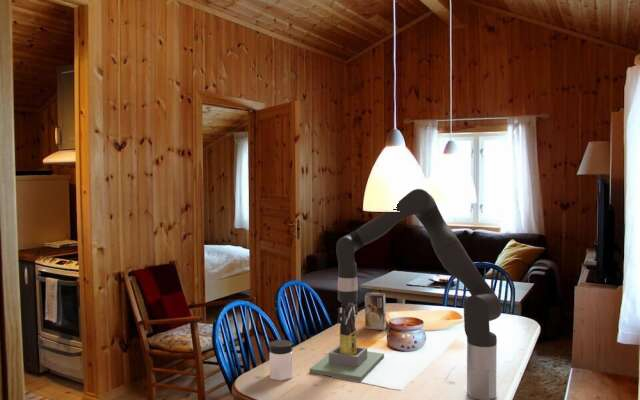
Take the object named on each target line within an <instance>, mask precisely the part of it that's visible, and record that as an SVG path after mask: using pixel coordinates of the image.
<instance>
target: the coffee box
mask: <svg viewBox="0 0 640 400" xmlns="http://www.w3.org/2000/svg"><path fill="white" fill-rule="evenodd" d="M386 311H387V309H386V292H368V291H367V292H366V293H365V295H364V320H365V326H364V327H365V329H367V330H381V331H385V329H386V328H387V318H386V317H387V316H386V315H387V312H386Z"/></svg>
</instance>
